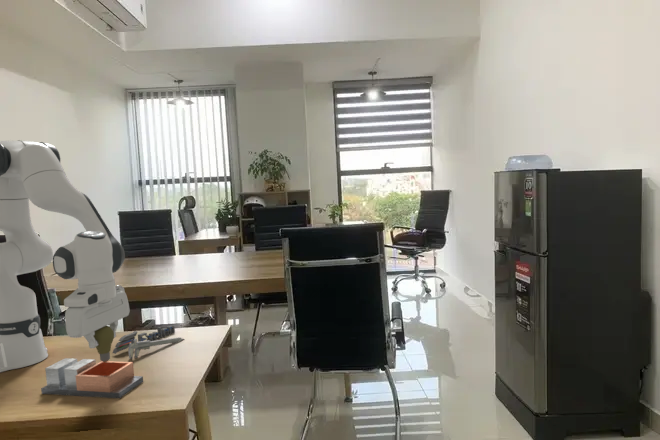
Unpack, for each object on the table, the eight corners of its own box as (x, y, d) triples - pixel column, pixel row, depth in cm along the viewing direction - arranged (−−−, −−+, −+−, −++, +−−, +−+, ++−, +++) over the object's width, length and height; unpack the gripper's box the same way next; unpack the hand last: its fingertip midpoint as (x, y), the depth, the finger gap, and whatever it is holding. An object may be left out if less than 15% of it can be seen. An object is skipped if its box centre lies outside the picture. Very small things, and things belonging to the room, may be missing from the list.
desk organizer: (41, 393, 125) (39, 370, 124) (69, 377, 135) (67, 356, 134) (119, 398, 120) (117, 374, 119) (143, 381, 129) (141, 359, 129)
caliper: (131, 360, 147) (129, 341, 146) (129, 359, 147) (127, 340, 147) (184, 340, 163) (183, 323, 163) (182, 339, 164) (181, 322, 163)
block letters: (115, 357, 150) (114, 340, 150) (112, 356, 151) (111, 339, 151) (174, 332, 172) (173, 318, 172) (171, 332, 173) (170, 317, 172)
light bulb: (101, 367, 122) (97, 329, 121) (89, 364, 125) (85, 327, 124) (121, 359, 126) (117, 323, 126) (108, 356, 129) (105, 321, 129)
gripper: (113, 283, 135) (118, 330, 136) (58, 302, 115) (64, 356, 116) (132, 283, 133) (137, 330, 135) (80, 302, 113) (86, 357, 115)
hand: (103, 342), depth 125 cm, fingers closed on light bulb, 6 cm apart
